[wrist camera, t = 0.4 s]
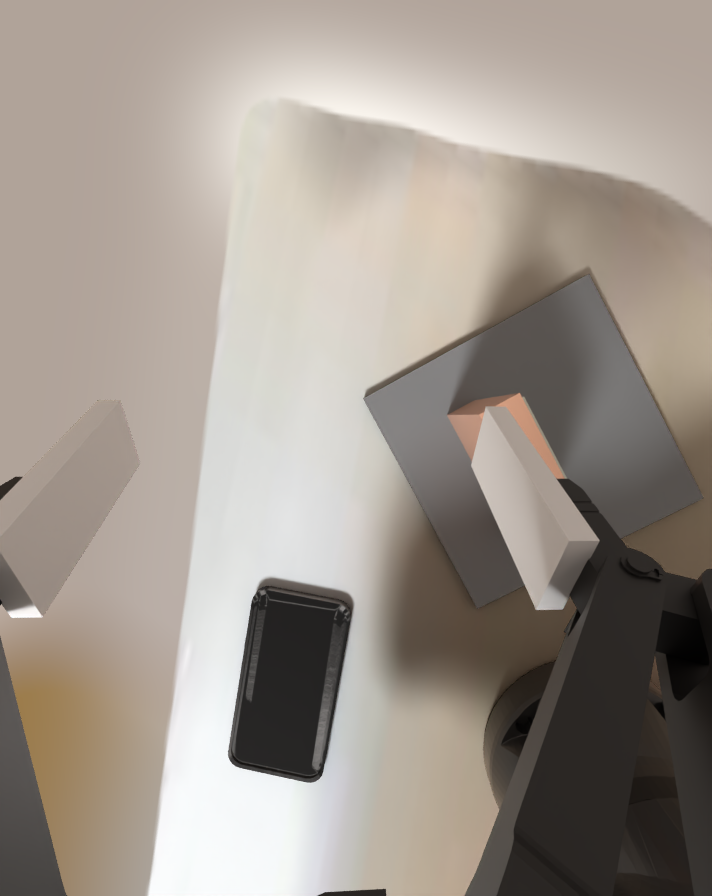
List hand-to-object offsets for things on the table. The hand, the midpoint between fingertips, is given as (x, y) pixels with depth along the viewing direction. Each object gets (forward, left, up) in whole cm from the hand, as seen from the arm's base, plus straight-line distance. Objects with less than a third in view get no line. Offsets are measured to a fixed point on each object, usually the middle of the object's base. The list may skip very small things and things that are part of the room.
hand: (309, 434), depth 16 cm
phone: (-20, +8, -17) cm, 27 cm away
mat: (-4, -13, -16) cm, 21 cm away
